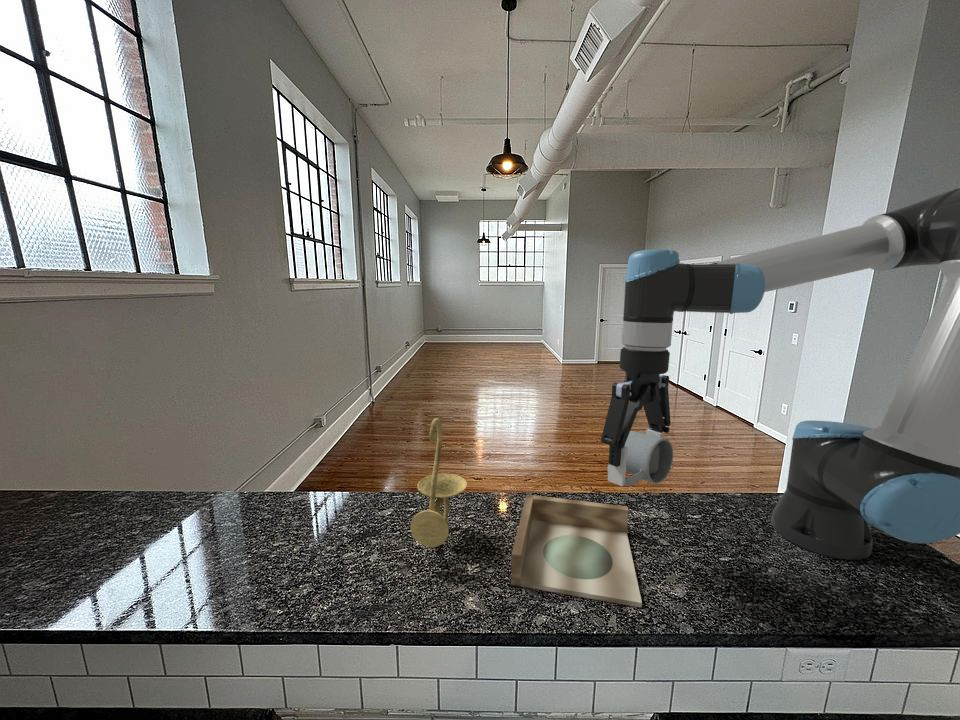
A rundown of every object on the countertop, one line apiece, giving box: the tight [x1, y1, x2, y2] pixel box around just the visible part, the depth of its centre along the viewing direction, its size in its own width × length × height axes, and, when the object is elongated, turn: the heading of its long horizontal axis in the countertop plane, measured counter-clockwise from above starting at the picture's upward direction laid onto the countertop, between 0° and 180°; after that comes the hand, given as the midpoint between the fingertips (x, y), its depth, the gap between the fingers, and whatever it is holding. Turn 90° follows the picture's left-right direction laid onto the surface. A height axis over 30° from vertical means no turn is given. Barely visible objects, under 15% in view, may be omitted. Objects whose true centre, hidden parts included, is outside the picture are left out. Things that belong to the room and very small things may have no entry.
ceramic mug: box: [607, 430, 674, 487], centre depth 68 cm, size 11×8×8 cm
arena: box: [510, 493, 643, 608], centre depth 71 cm, size 20×20×6 cm
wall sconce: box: [410, 417, 468, 548], centre depth 74 cm, size 14×10×25 cm
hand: (634, 473), depth 69 cm, fingers closed on ceramic mug, 10 cm apart
